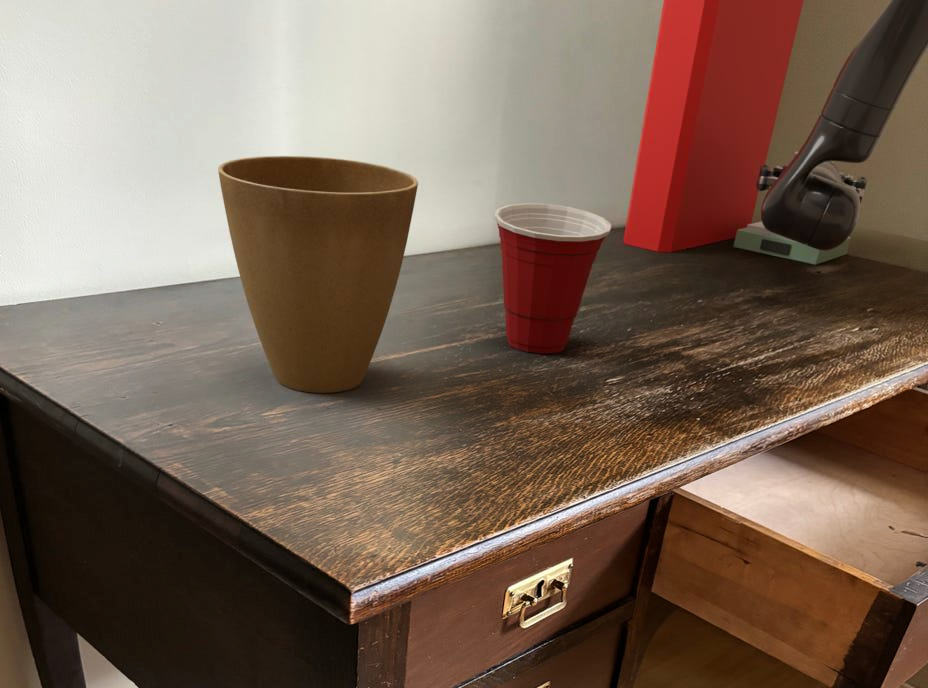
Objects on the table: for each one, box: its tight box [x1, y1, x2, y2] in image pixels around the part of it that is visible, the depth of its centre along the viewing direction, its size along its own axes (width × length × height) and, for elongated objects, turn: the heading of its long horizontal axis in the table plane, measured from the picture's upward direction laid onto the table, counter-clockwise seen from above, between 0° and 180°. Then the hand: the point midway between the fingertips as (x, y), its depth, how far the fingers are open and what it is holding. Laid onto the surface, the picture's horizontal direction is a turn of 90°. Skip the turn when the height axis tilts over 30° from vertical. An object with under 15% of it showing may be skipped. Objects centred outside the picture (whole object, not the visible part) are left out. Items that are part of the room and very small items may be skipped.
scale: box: [732, 220, 852, 266], centre depth 146 cm, size 13×13×3 cm
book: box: [622, 0, 805, 253], centre depth 140 cm, size 27×8×32 cm, turn 140°
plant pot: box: [217, 155, 419, 394], centre depth 77 cm, size 15×15×16 cm
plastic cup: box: [493, 202, 612, 354], centre depth 91 cm, size 11×11×12 cm
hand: (811, 177), depth 137 cm, fingers open, 8 cm apart
